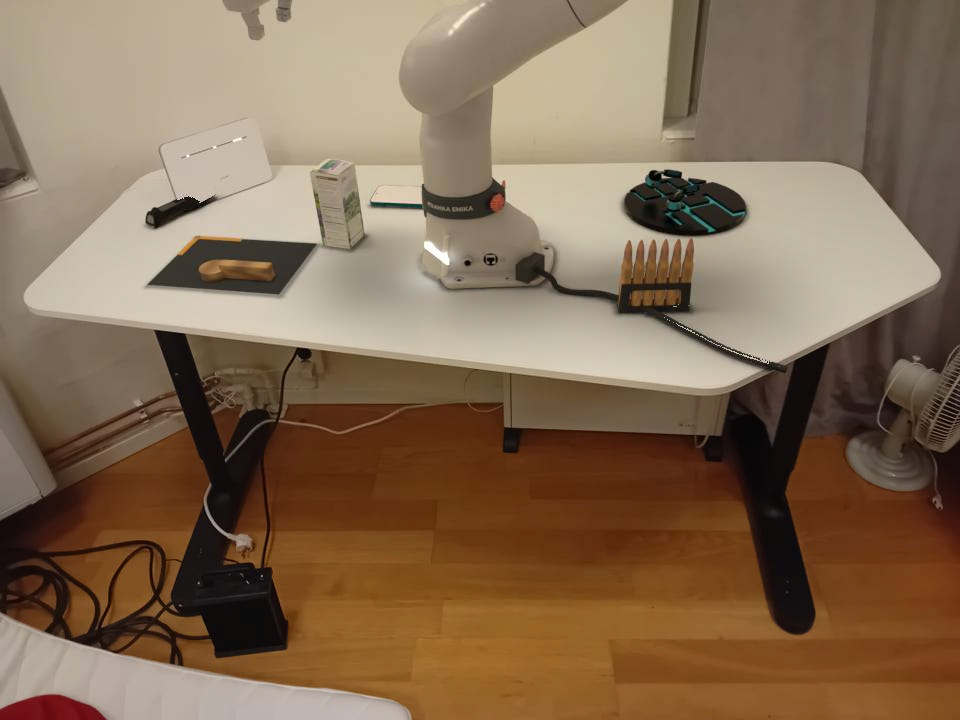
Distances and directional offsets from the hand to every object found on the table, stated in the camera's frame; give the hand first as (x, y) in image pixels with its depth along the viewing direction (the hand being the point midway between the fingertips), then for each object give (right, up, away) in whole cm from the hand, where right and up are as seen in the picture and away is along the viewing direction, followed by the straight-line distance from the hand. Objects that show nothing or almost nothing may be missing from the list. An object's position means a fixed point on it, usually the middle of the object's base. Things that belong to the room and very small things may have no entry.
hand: (271, 29), depth 109 cm
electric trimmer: (-29, -19, +39) cm, 52 cm away
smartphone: (+17, -17, +38) cm, 45 cm away
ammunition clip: (+57, -41, +4) cm, 70 cm away
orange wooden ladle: (-11, -34, +17) cm, 40 cm away
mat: (-12, -32, +21) cm, 40 cm away
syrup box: (+6, -27, +26) cm, 38 cm away
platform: (+69, -20, +30) cm, 78 cm away
